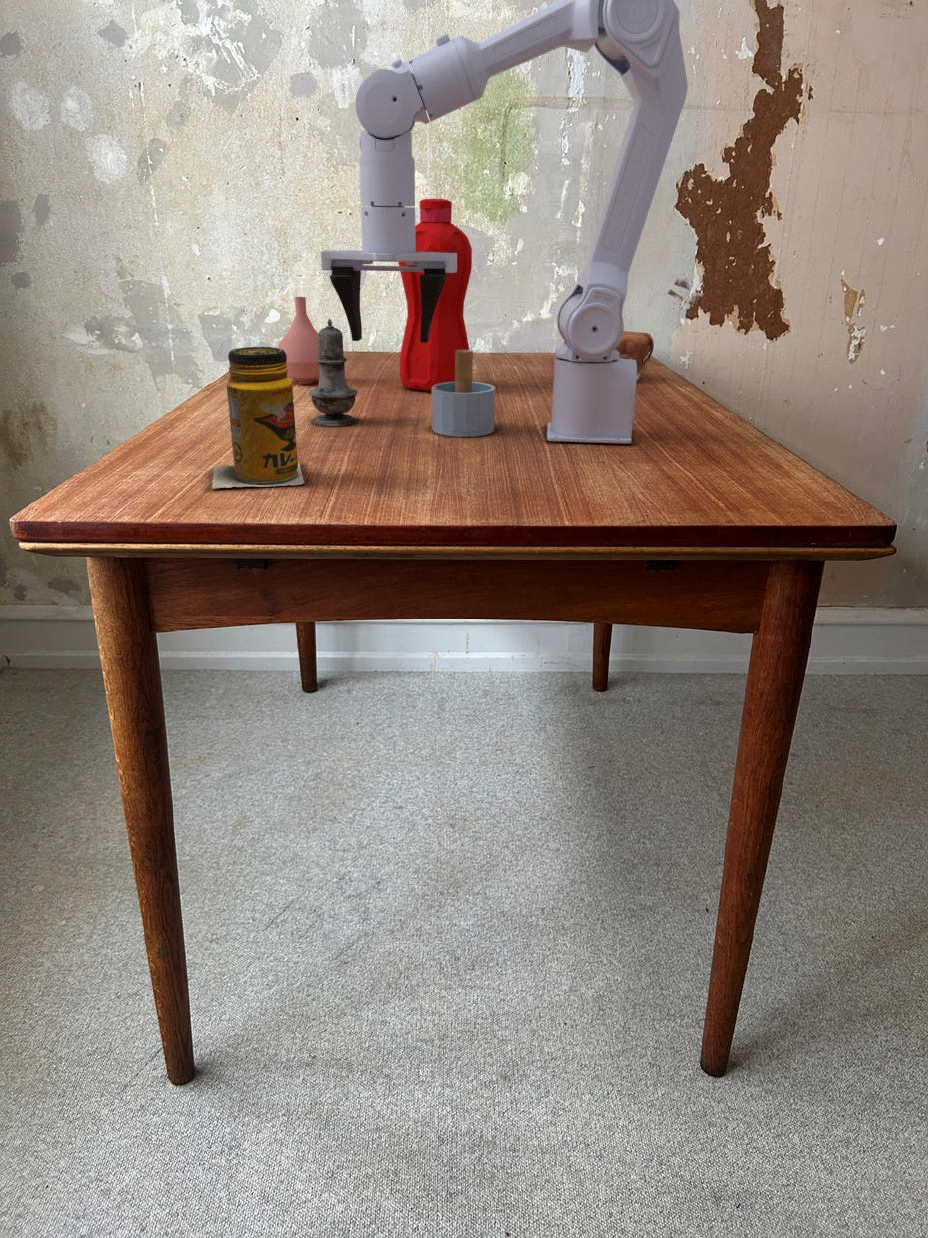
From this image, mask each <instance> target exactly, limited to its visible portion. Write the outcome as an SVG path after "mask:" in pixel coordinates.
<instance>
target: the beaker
mask: <svg viewBox="0 0 928 1238" xmlns="http://www.w3.org/2000/svg"><path fill="white" fill-rule="evenodd" d="M496 389H497V388H496V386H495V385H492V384H491V383H485V382H478V381H472V392H471V393H461V392H455V382H445V383H439V384H435V385H433V386H432V392H431V430H432V431H433V432H434V433H435V434H438V435H442V436H445V437H446V436H447V437H452V438H453V437H454V438H455V437H456V438H474V437H475V438H477V437H483V436H487V435H490V434H492V433H493V432H494V431H495V422H496Z"/></svg>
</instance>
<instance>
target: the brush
mask: <svg viewBox="0 0 928 1238" xmlns="http://www.w3.org/2000/svg"><path fill="white" fill-rule="evenodd" d="M473 360H474V351H473V350H471V349H470V350H456V352H455V392H461V393H471V392H472V382H473V370H474V369H473V367H474V366H473V365H474V361H473Z"/></svg>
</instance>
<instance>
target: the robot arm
mask: <svg viewBox="0 0 928 1238" xmlns="http://www.w3.org/2000/svg"><path fill="white" fill-rule="evenodd" d="M680 33H681V32H680V9H679V7H678V5H677V4H676V2H675V0H557V1H555V2H553V3H551V4H550V5H548V6H546V7H544V8H542V9H540V10H539V11H536V12H534V13H533V14H531V15H529V16H528V17H525V18H523V19H521V20H520V21H518V22H516V23H514V24H512V25H511V26H508V27H506V28H505V29H503V30H501V31H499V32H497V33H495V34H493V35H491V36H489V37H488V38H486V39H484V40H482V41H480V42H476V41H473V40H471V39H469V38H467V37H465V36H463V35H458V36H456V37H454V38H452V39H450V36H449V34H447V33H445V34H443V35H442V36H439V37H436V39H435V43H436V47H433V48H432V49H429V50H427V51H425V52H424V53H421V54H419V55H417V56H415V57H413V58H411V59H409V60H407V61H404V62H403V60H402V59H401V58H398V59H396V60H394V61H392V63H391V66H392V69H393V70H392V69H389V68H377V69H375V70H374V71H373V72H372V73H371V74H370V75H368V76H366V78H364V80H362V82H361V83H360V85H359V87H358V89H357V92H356V95H355V113H356V117H357V119H358V121H359V123H360V125H361V126H362V127H363V128H364V130H363V129H361V130H360V137H359V148H360V157H359V162H358V163H359V191H360V192H359V193H360V216H361V217H360V218H361V219H360V220H361V245H362V246H361V250H321V251H320V263H321V265H320V266H321V271H331V275H329V280H330V282H331V285H332V286H333V288H334V290H335V292H336V294H337V296H338V299H339V301H340V303H341V305H342V308H343V310H344V313H345V316H346V319H347V323H348V326H349V331H350V335H351V341H352V342H359V341H360V340H362V338H363V325H362V315H361V281H362V280H361V279H362V271H365V272H367V271H368V272H369V271H370V272H400V271H409V272H424V274H422V275H420V288H421V330H420V339H421V343H427V342H428V341H429V335H430V328H431V323H432V319H433V315H434V311H435V308H436V305H437V302H438V299H439V296H440V294H441V291H442V289H443V287H444V284H445V282H446V280H447V277H448V276H447V273H455V272H457V253H438V252H416V250H415V226H416V172H415V171H416V162H415V161H416V160H415V158H414V156H413V132H412V131H413V129H414V127H415V125H416V123H418V122H419V123H422V124H424V125H427V124H429V123H431V122H434V121H436V120H439V119H440V118H442V117H444V116H446V115H449V114H450V113H452V112H455V111H457V110H458V109H459V110H460V109H461V108H463V107H465V106H467V105H470V104H471V103H474V102H476V101H478V100H480V99H482V97H483V96H484V93H485V91H486V87H487V85H488V82H489V81H490V79H491V78H493V77H495V76H497V75H499V74H501V73H504V72H506V71H510V70H511V69H514V68H516V67H518V66H520V65H522V64H525V63H528V62H529V61H532V60H534V59H536V58H539V57H542V56H543V55H546V54H548V53H550V52H552V51H554V50H557V49H559V48H567V49H571V50H575V51H578V52H582V53H586V54H587V53H588V52H589V51H590V50H591V49H592V48H593V46H594V48H595V50H596V51H597V54H598V55H600V56H601V58H602V59H603V60H604V61H605V62H607V64H608V65H610V66H611V67H612V68H613V69H614V70H615V71H616V72H617V73H618V74H620V77H621V79H622V81H623V83H624V85H625V87H626V90H627V92H628V93H629V95H630V97H631V99H632V101H633V105H632V108H631V112H630V114H629V115H630V116H629V119H628V121H627V125H626V127H625V131H624V135H623V137H622V141H621V144H620V148H619V151H618V155H617V157H616V161H615V165H614V168H613V170H612V174H611V177H610V180H609V183H608V186H607V190H606V193H605V197H604V200H603V203H602V206H601V210H600V213H599V217H598V220H597V222H596V226H595V230H594V233H593V236H592V239H591V242H590V246H589V249H588V252H587V256H586V259H585V261H584V264H583V266H582V268H581V269H580V272H579V274H578V276H577V278H576V281H575V285H574V288H573V289H572V292H571V293H570V294H569V295H568V297H566V299H565V300H563V302H562V303H561V305H560V307H559V309H558V312H557V317H556V326H557V330H558V333H559V335H560V336H561V338H562V339H563V340H564V341H563V342H562V343H561V345H560V347H559V348H557V349H556V350H555V351H554V362H553V363H554V365H553V385H552V400H551V402H552V403H551V418H550V419H551V420H550V422H547V425H546V426H547V427H546V441H548V442H563V443H564V442H565V443H570V442H571V443H590V444H591V443H593V444H594V443H595V444H596V443H597V444H625V445H630V444H632V442H633V441H632V440H633V439H632V436H633V435H632V434H633V426H634V425H635V416H636V415H635V414H636V411H635V402H636V392H637V381H638V380H637V364H636V360H633V359H632V358H630V359H620V358H619V354H620V352H618V351H617V350H615V348H616V347H617V346H618V344H619V343H620V341H621V338H622V336H623V331H625V330H624V329H625V325H624V324H625V323H624V317H623V310H624V305H625V301H626V299H627V295H628V294H627V293H628V281H629V280H628V279H629V273H630V269H631V267H632V264H633V260H634V258H635V255H636V251H637V248H638V245H639V242H640V239H641V236H642V233H643V230H644V226H645V223H646V221H647V218H648V215H649V211H650V208H651V205H652V202H653V199H654V196H655V194H656V190H657V187H658V184H659V180H660V178H661V175H662V172H663V169H664V166H665V162H666V160H667V157H668V153H669V151H670V148H671V145H672V141H673V139H674V135H675V132H676V129H677V126H678V123H679V121H680V116H681V114H682V111H683V107H684V105H685V102H686V99H687V95H688V88H689V84H688V78H687V71H686V66H685V64H686V63H685V59H684V53H683V45H682V40H681V34H680ZM374 262H381V263H383V262H384V263H387V262H388V263H398V262H406V265H416V266H399V265H372V264H374ZM636 380H637V381H636Z"/></svg>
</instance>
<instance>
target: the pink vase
mask: <svg viewBox="0 0 928 1238" xmlns="http://www.w3.org/2000/svg"><path fill="white" fill-rule="evenodd" d="M294 305H295V315H294V318H293V320H292V323H291V325H290V327H289V330H288V331H287V332H286V333H285V334H284V335H283V337H282V338H281V340H280V341H279V342H278V346H277V348H279V349H282V350H284V352H285V353H286V355H287V362H286V363H287V368H288V372H287V376H288V377H289V379H292V380H295V381H296V382H297V384H300V385H310V384H313V383H314V380H317V379H320V371H319V363H318V362H317V361H316V359H317V358H319V341H318V334H319V332H318V330H316V329H315V327H314V325H313V324H312V321H311V319H310V317H309V316H308V315H307V314H308V313H307V297H306V296H295V297H294Z"/></svg>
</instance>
